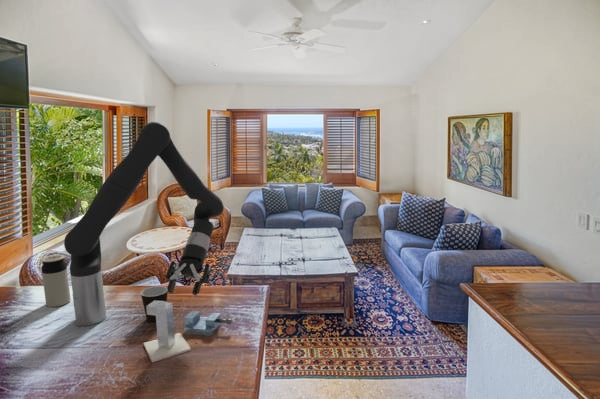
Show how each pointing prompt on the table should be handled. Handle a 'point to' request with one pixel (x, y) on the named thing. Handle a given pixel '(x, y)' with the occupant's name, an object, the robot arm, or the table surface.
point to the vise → (203, 323)
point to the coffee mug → (151, 295)
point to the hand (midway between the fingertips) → (182, 293)
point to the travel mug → (55, 280)
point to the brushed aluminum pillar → (163, 322)
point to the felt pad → (163, 353)
